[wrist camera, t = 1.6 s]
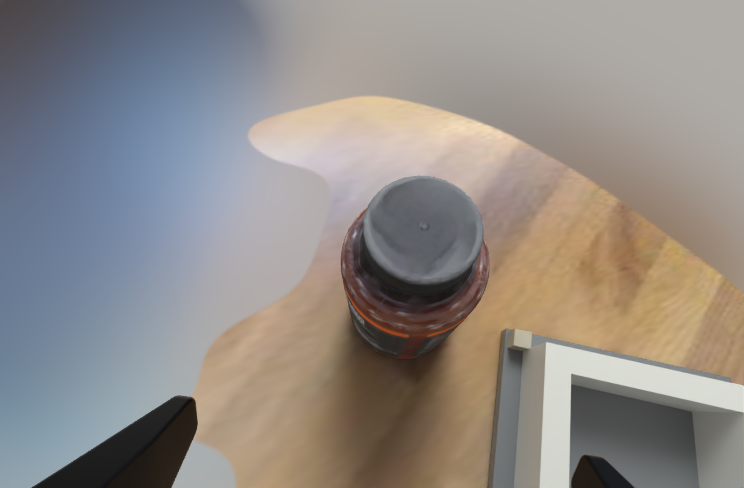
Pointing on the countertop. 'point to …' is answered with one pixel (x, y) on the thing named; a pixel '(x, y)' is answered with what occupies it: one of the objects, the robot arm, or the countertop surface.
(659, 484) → the socket holder
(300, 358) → the countertop surface
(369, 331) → the supplement bottle
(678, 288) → the countertop surface
